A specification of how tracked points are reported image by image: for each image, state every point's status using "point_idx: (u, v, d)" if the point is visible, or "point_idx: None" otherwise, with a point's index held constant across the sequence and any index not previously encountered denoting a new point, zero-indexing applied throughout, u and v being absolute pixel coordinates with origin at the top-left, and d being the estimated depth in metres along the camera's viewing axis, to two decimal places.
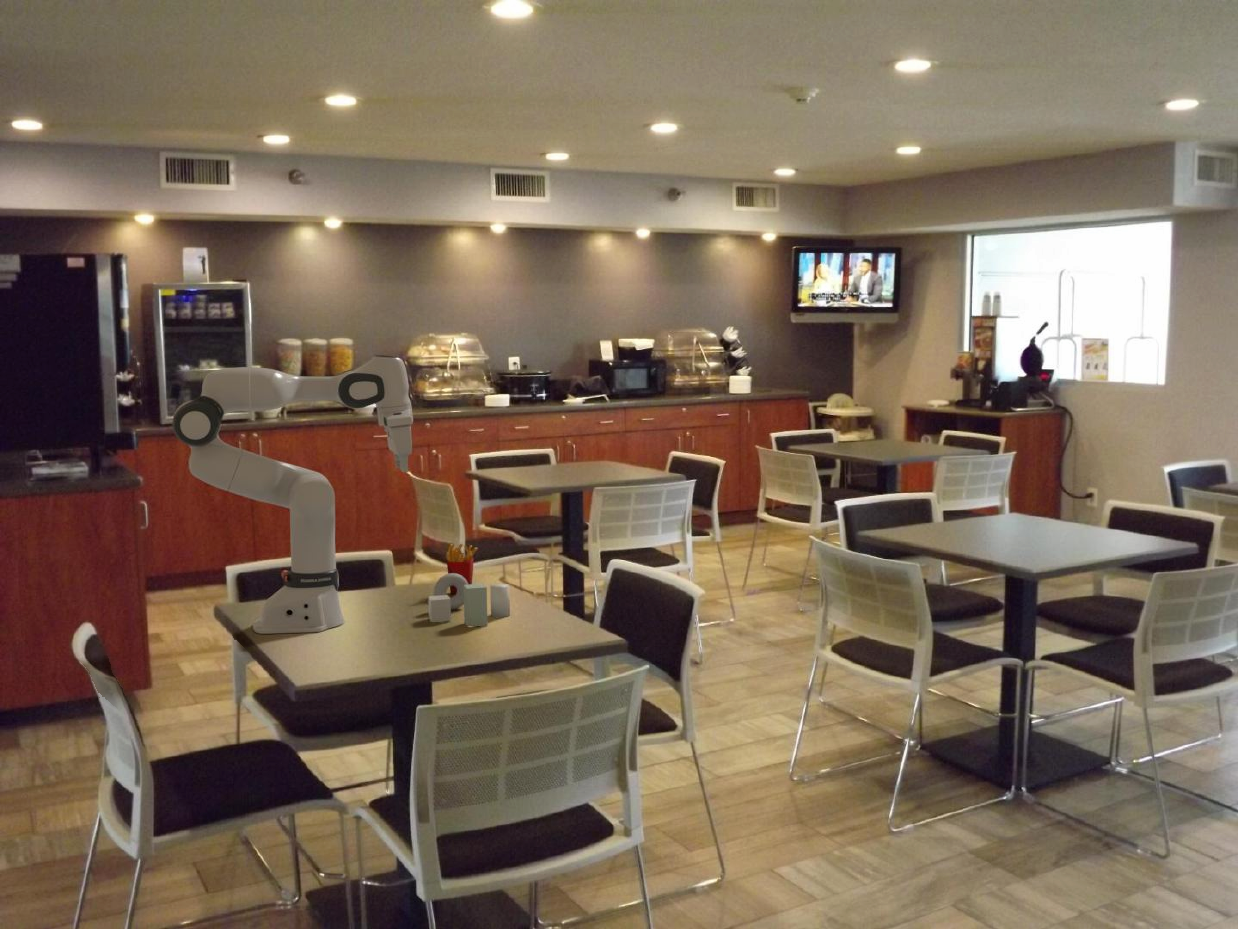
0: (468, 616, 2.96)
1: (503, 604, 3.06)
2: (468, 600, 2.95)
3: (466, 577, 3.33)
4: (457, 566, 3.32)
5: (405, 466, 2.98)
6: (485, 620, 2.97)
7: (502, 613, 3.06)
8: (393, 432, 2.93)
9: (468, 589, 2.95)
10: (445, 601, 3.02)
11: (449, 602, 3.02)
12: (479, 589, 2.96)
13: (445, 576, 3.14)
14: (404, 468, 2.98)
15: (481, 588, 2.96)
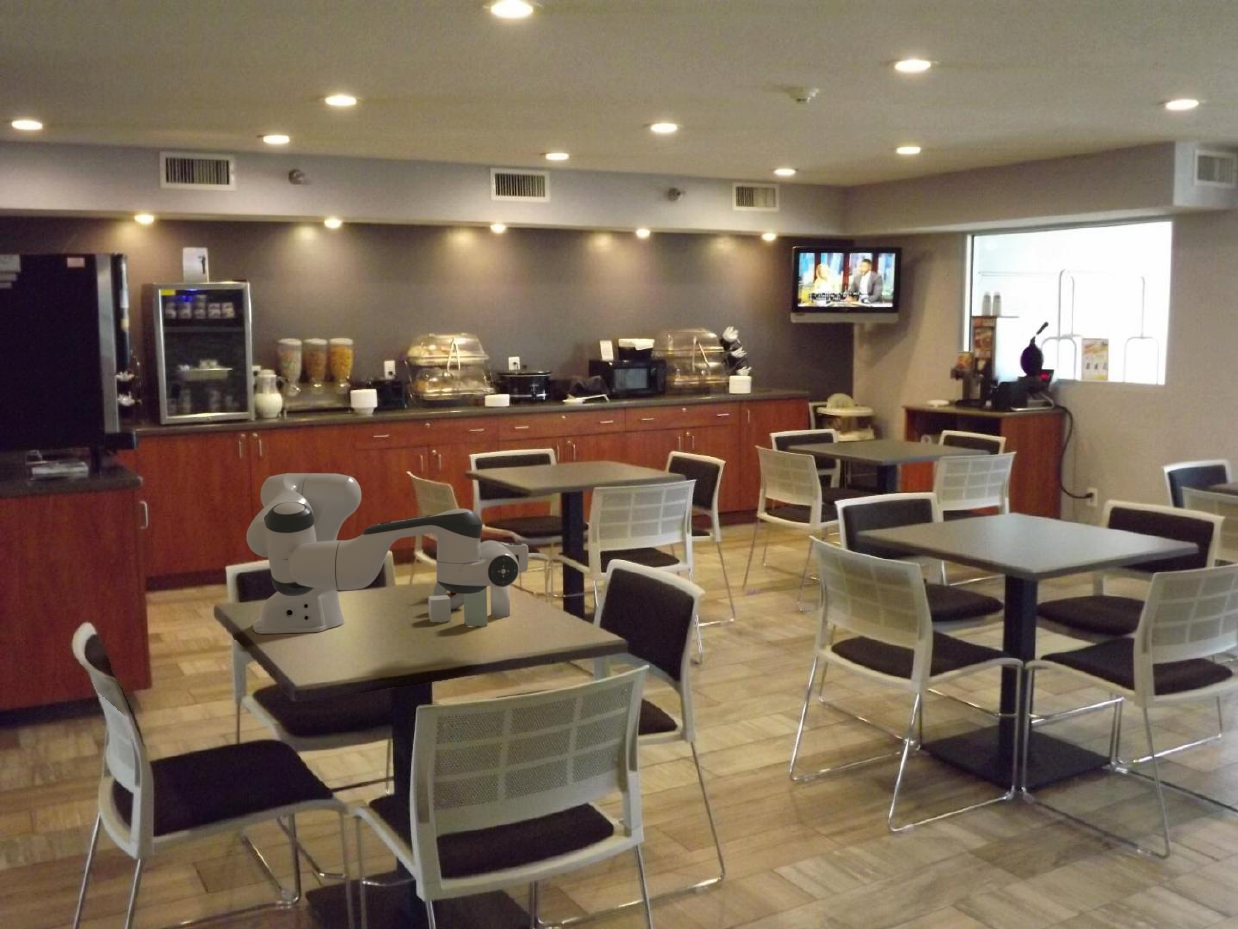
0: (468, 616, 2.96)
1: (503, 604, 3.06)
2: (468, 600, 2.95)
3: None
4: None
5: None
6: (485, 620, 2.97)
7: (502, 613, 3.06)
8: None
9: None
10: (445, 601, 3.02)
11: (449, 602, 3.02)
12: None
13: None
14: None
15: None
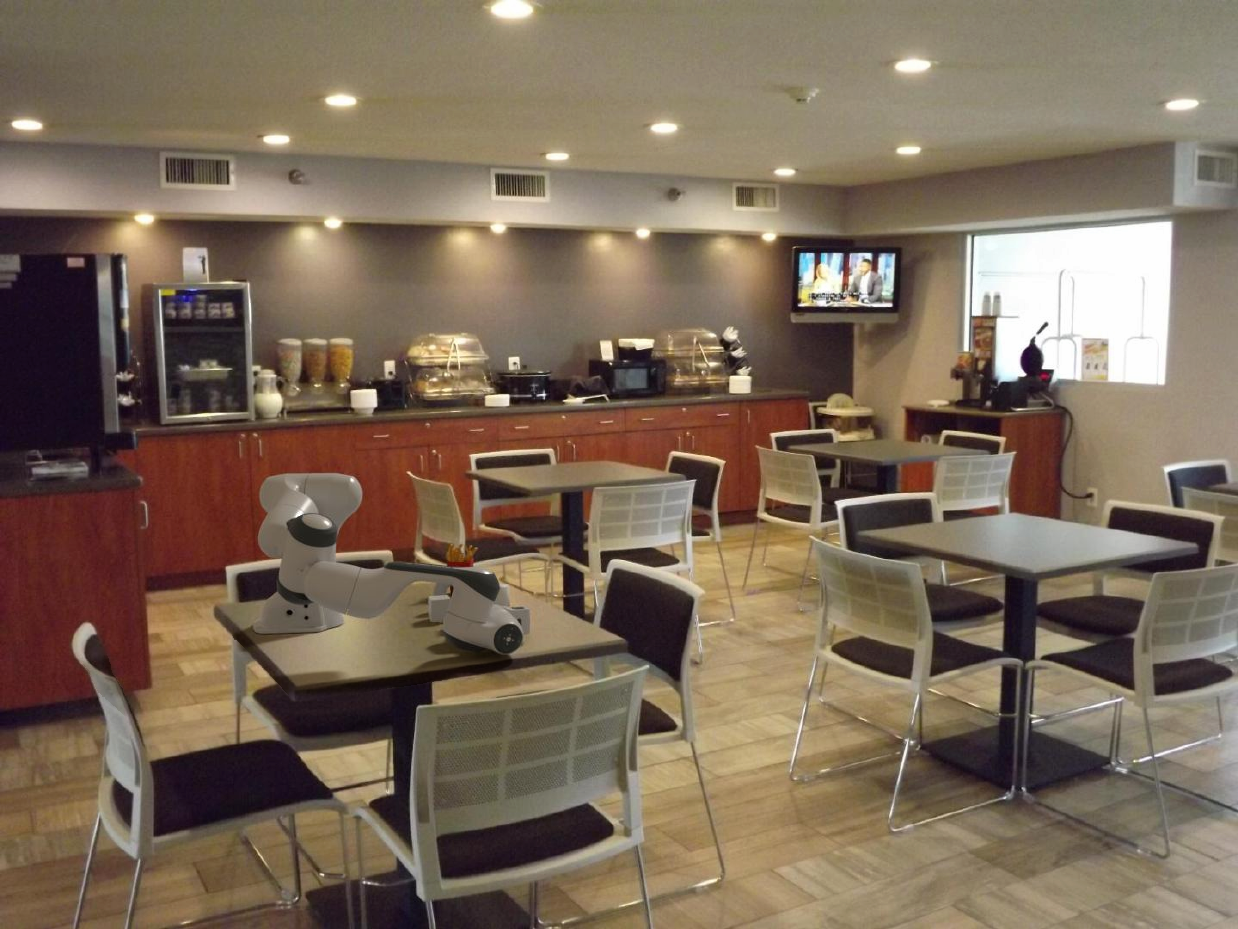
0: None
1: (503, 604, 3.06)
2: None
3: None
4: (457, 566, 3.32)
5: None
6: None
7: None
8: None
9: None
10: (445, 601, 3.02)
11: (449, 602, 3.02)
12: None
13: None
14: None
15: None
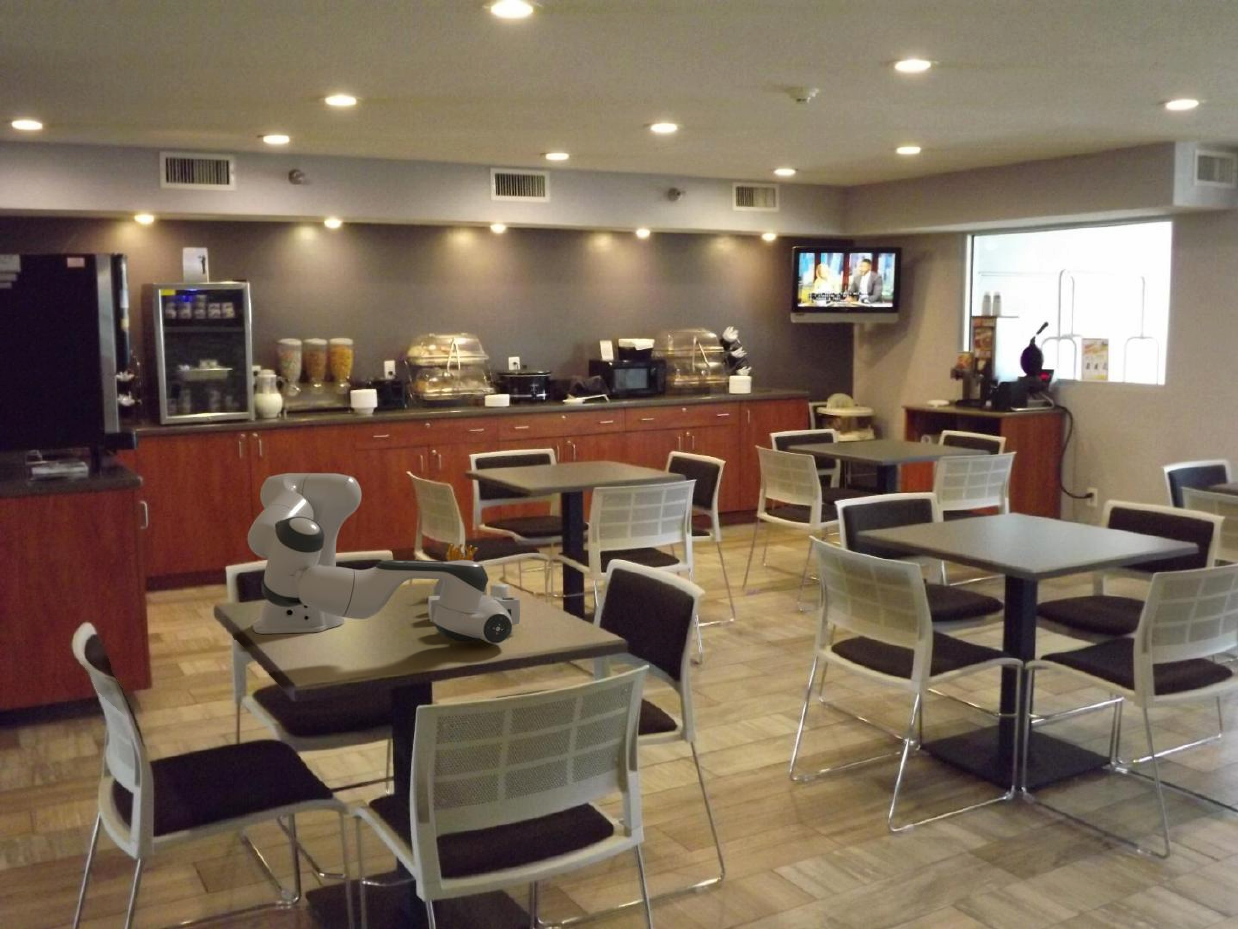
0: None
1: None
2: None
3: None
4: None
5: None
6: None
7: None
8: None
9: None
10: None
11: None
12: None
13: None
14: None
15: None
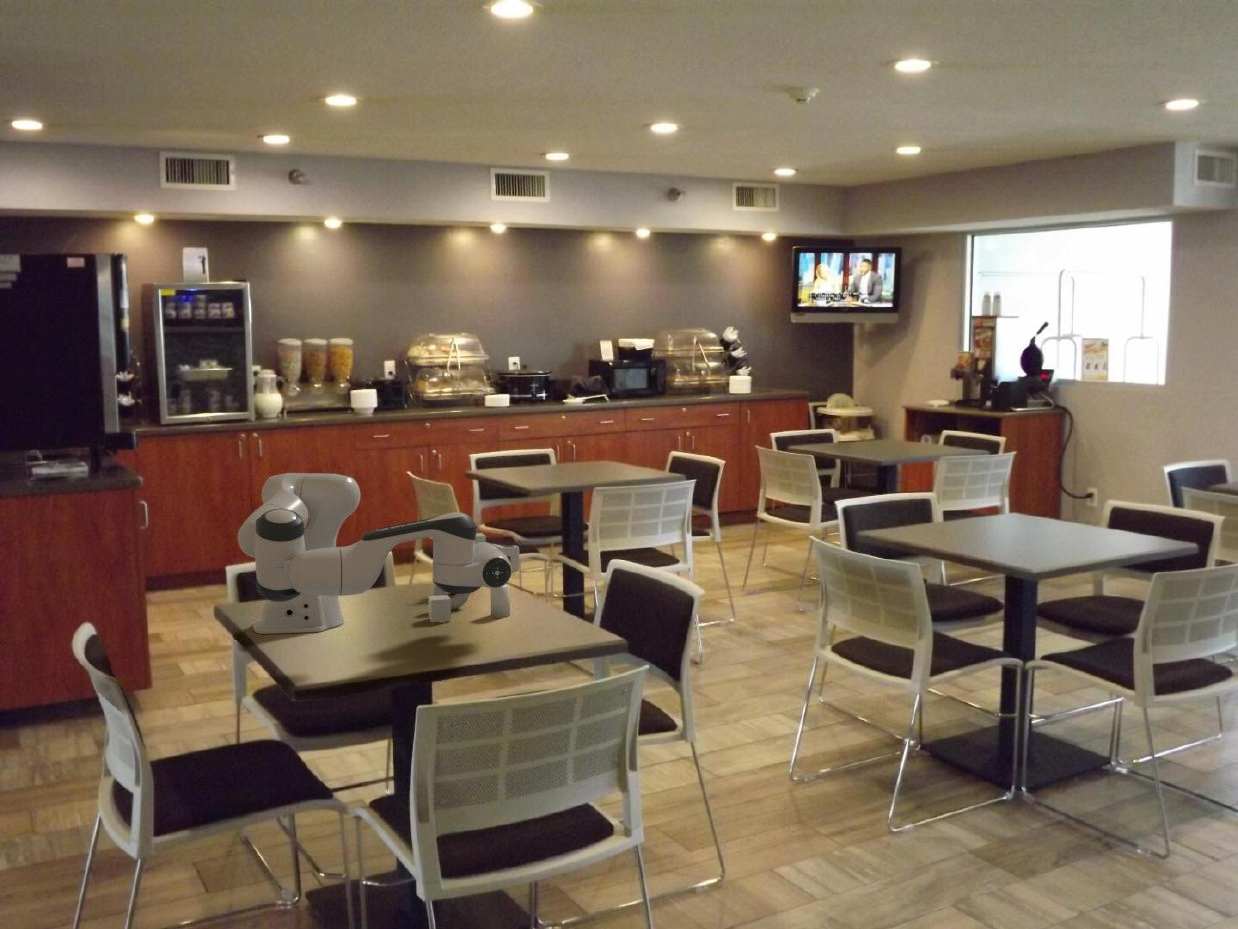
0: None
1: (503, 604, 3.06)
2: None
3: None
4: None
5: None
6: None
7: (502, 613, 3.06)
8: None
9: None
10: (445, 601, 3.02)
11: (449, 602, 3.02)
12: (478, 538, 2.93)
13: None
14: None
15: (480, 537, 2.93)
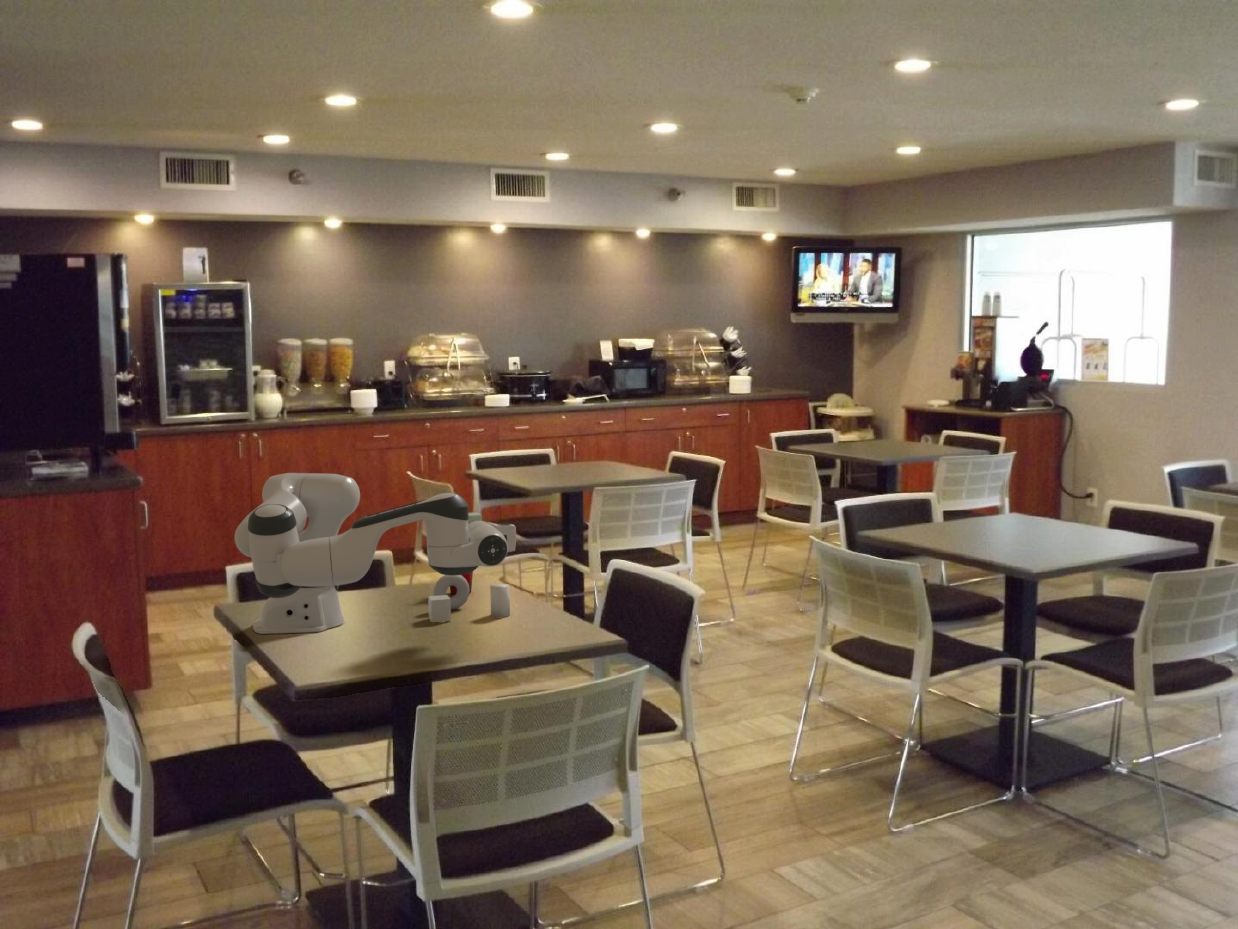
0: None
1: (503, 604, 3.06)
2: None
3: (466, 577, 3.33)
4: None
5: None
6: None
7: (502, 613, 3.06)
8: None
9: None
10: (445, 601, 3.02)
11: (449, 602, 3.02)
12: (474, 517, 2.88)
13: (445, 576, 3.14)
14: None
15: (476, 516, 2.88)
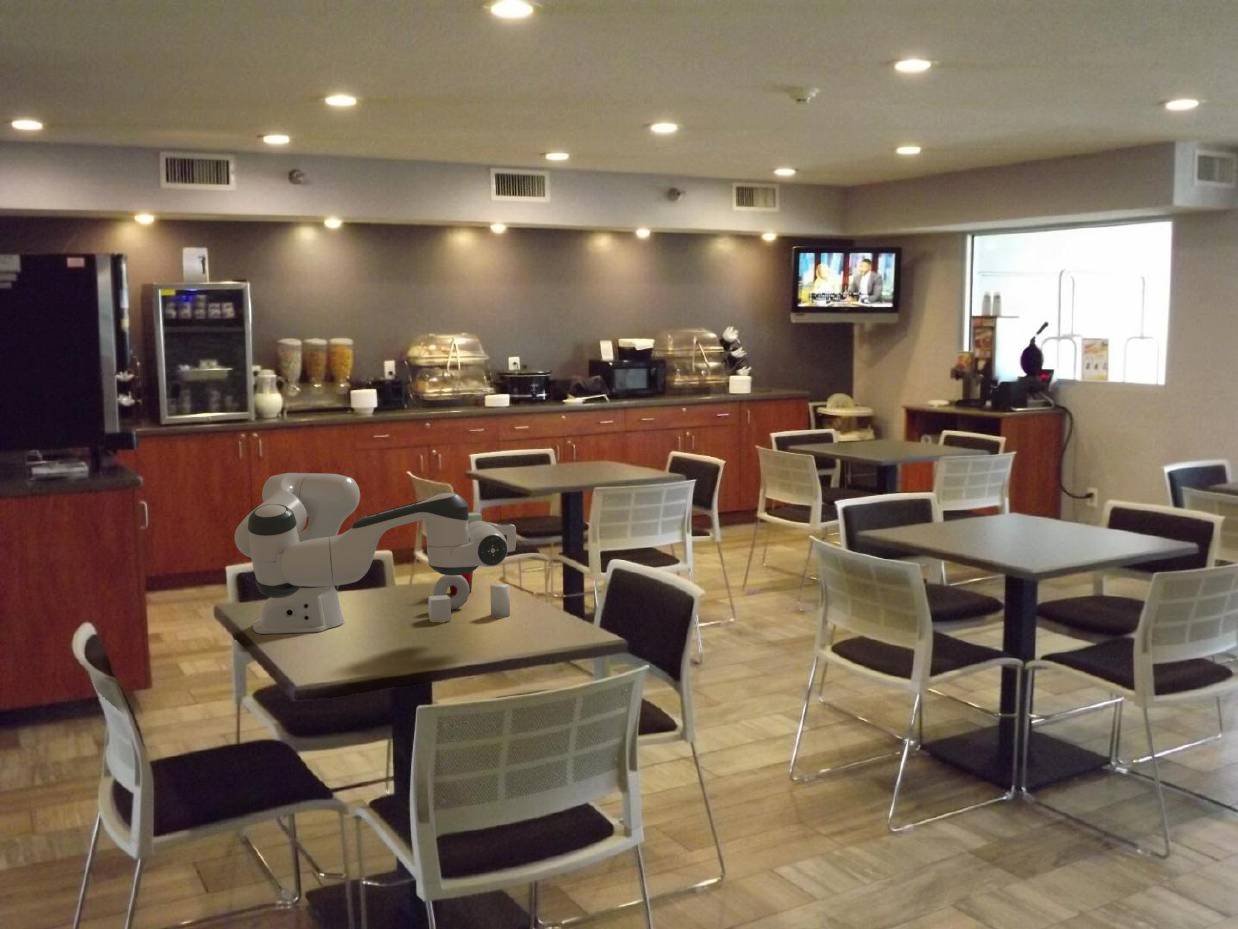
0: None
1: (503, 604, 3.06)
2: None
3: (466, 577, 3.33)
4: None
5: None
6: None
7: (502, 613, 3.06)
8: None
9: None
10: (445, 601, 3.02)
11: (449, 602, 3.02)
12: (474, 517, 2.88)
13: (445, 576, 3.14)
14: None
15: (476, 516, 2.88)
